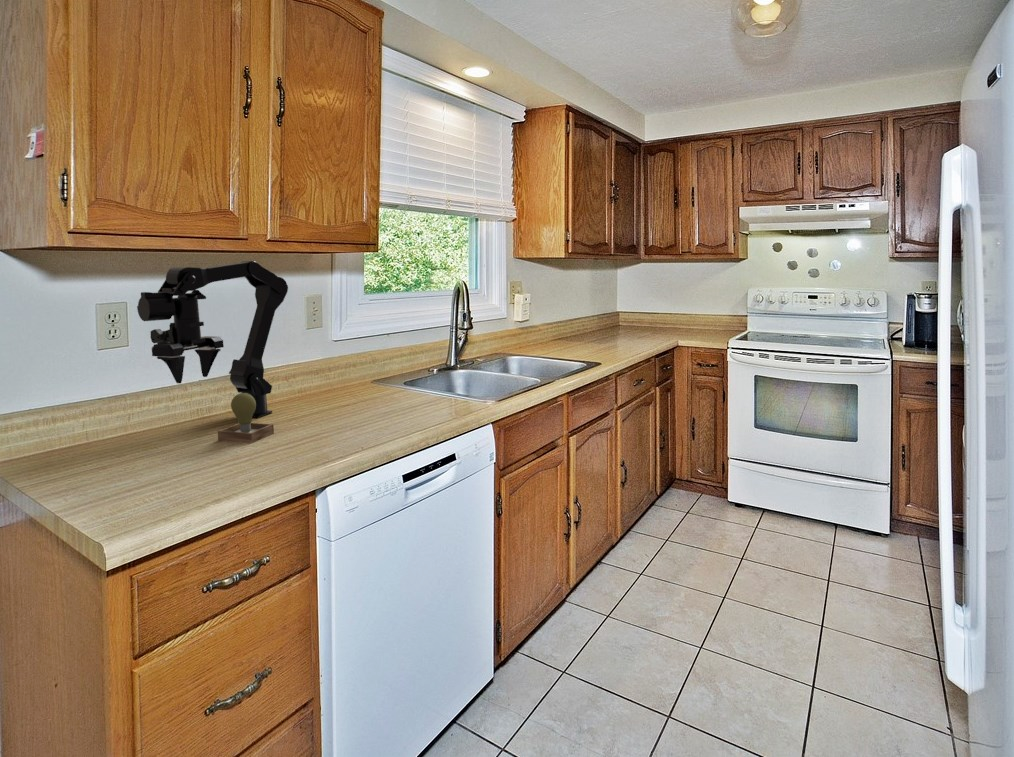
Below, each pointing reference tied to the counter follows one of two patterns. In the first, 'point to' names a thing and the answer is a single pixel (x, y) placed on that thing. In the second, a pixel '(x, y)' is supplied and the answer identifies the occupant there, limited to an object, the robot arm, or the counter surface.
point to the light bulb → (244, 410)
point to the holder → (236, 435)
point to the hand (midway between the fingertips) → (192, 379)
